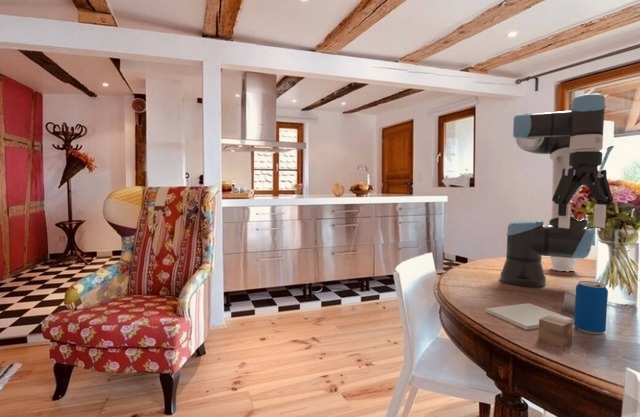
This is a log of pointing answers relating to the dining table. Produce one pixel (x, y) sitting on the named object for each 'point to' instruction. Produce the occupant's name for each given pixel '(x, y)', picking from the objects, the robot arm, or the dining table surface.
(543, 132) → the robot arm
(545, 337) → the walnut block
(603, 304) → the beverage can
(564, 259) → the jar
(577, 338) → the dining table surface
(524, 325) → the white board
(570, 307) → the grey metal tin
